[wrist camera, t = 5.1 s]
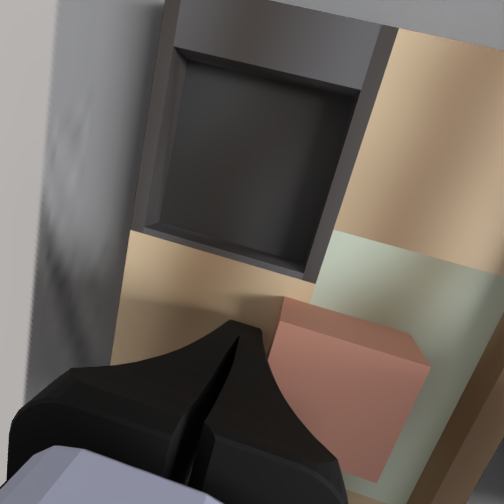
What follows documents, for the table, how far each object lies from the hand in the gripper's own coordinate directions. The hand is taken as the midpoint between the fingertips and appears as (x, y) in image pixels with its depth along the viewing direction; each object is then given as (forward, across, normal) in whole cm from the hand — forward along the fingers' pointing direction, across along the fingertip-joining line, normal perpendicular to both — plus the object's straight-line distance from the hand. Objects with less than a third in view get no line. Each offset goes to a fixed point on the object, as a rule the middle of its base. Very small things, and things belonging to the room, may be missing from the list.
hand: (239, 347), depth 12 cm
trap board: (+2, -2, 0) cm, 3 cm away
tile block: (0, -3, 0) cm, 3 cm away
